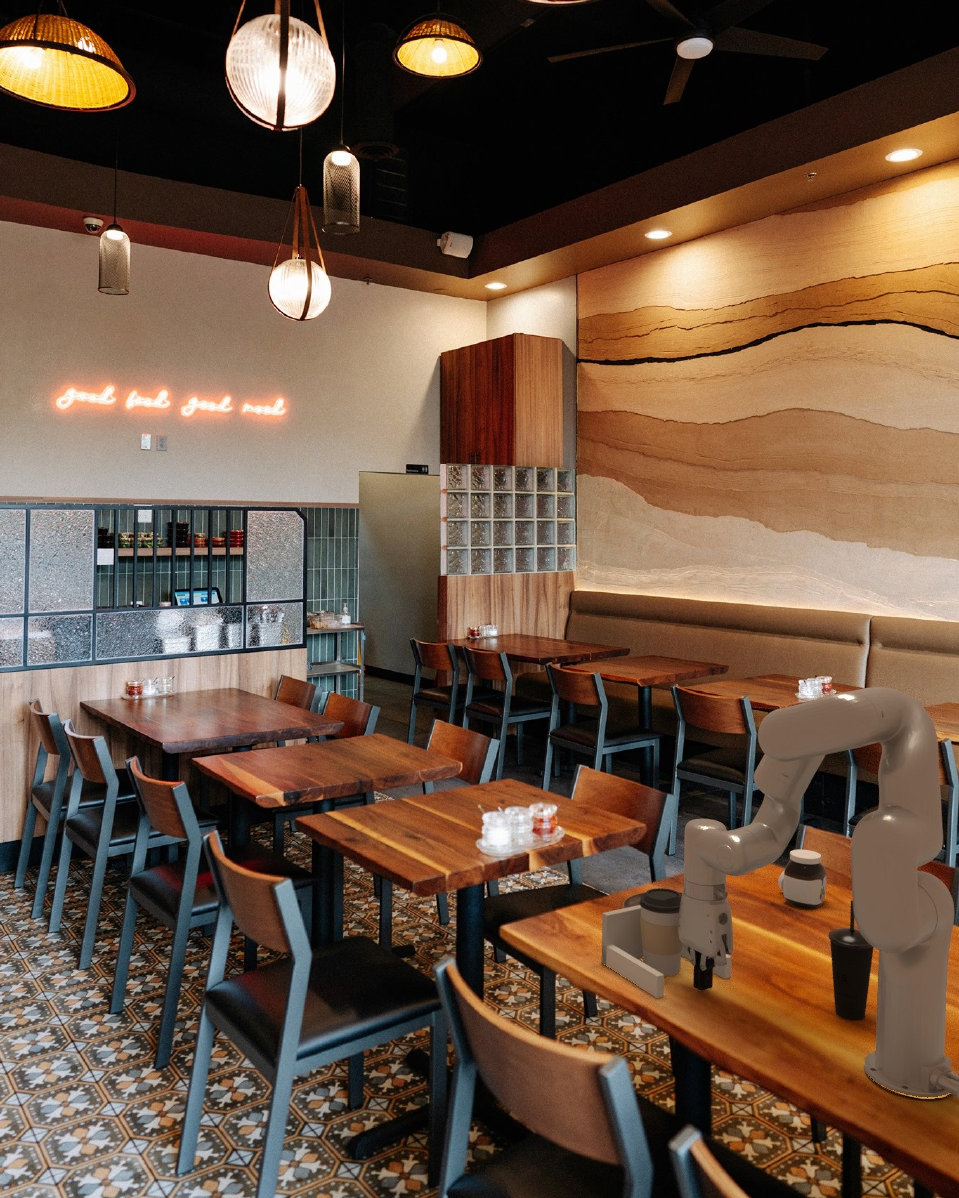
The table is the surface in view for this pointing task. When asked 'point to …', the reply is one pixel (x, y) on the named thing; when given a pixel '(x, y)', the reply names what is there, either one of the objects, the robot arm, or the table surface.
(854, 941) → the drinking cup
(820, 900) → the spread jar
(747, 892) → the table surface
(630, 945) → the box
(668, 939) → the coffee cup
